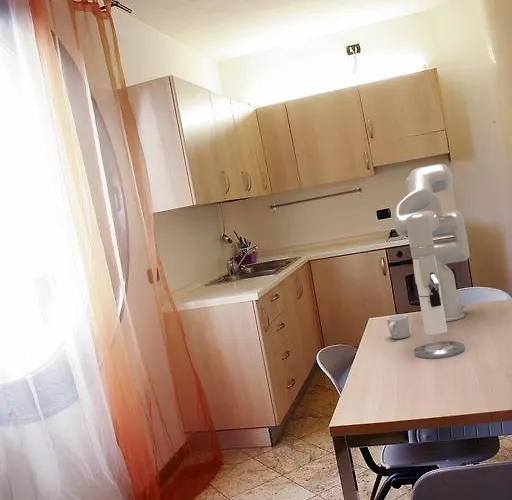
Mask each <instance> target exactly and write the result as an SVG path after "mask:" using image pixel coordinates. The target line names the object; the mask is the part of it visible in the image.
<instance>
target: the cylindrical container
mask: <svg viewBox="0 0 512 500" xmlns="http://www.w3.org/2000/svg"><path fill="white" fill-rule="evenodd" d="M434 259H435V263H436V258H435V255H434ZM412 264H414V267H413V271H414V270H415V276H416V282H417V284H416V286H417V287H416V288H417V293H418V299H419V304H420V310H421V316H422V324H423V329H424V334H426V335H429V336H431V335H432V336H433V335H434V336H435V335H440V334H444V333H446V332H448V325H447V321H446V319H445V313H444V307H443V301H442V295H441V289H440V282H439V295H440V301H441V306H436V307H431V303H430V297H429V295H430V292H429V289H428V286H427V287H426V288H425V287H423V286H422V281H421V275H420V268H419V259H415V258H412ZM436 267H437V264H436ZM437 272H438V270H437ZM415 276H414V277H415ZM438 278H439V276H438ZM429 285H433V282H432V281H431V279H430V284H429ZM432 288H433V287H431V289H432Z"/></svg>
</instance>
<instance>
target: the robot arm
mask: <svg viewBox="0 0 512 500" xmlns="http://www.w3.org/2000/svg"><path fill="white" fill-rule="evenodd" d="M405 186H406V189H407V191H408V193H407V195H406V196H405V197H403V199H401V201H400V202H399V203H398V204H397V205H396V208H395V210H394V211H395V212H394V229H395V232H396V233H397V235H398V236H400V237H408V243H409V248H410V249H409V250H410V254H411V258H412V259H413V258H415V259H419V268H420V275H421V281H422V286H423V287H425V288H426V287H427V286H428V289H429V292H430V295H429V297H430V303H431V307H436V306H441V301H440V295H439V282H440V289H441V295H442V301H443V307H444V313H445V319H446V322H452V321H457V320H461V319H464V317H465V313H464V312H462V310H464V309H465V308H466V307H467V306H466V304H465V303H463V302H462V303H461V304H460V303H459V299H458V298H459V297H458V291H457V287H456V286H457V285H456V279H455V274H454V272H453V270H452V269H451V268H450V267H448V266H447V264H450V263H452V264H453V263H459V262H464V261H467V260H468V259H469V257H470V249H469V248H470V247H469V242H468V235H467V231H466V224H465V220H464V217H463V214H462V213H461V212H460V211H459V210H446V211H443V210H442V205H441V200H440V198H439V197H438V196H437V195H436V194H435V193H442V192H446V191H451V189H452V188H453V187H454V175H453V173H452V171H451V170H450V168H449V167H448V166H447V164H443V163H438V164H433V165H427V166H421V167H417V168H414V169H413V170H412V171H411V172H410V173H409V175H408V176H407V177H406V179H405ZM448 236H453V237H452V238H444V239H438V240H437V239H436V240H434V239H435V238H439V237H440V238H441V237H448ZM433 238H434V239H433ZM434 255H435V258H436V263H435V259H434ZM412 264H413V263H412ZM436 264H437V267H436ZM412 266H413V267H412V268H414V264H413V265H412ZM437 270H438V272H437ZM413 273H414V275H413V276H414V281H415V285H417V282H416V276H415V270H414V269H413ZM438 276H439V278H438ZM430 279H431V281H432V282H433V285H429V284H430ZM431 287H433V288H432V289H431Z"/></svg>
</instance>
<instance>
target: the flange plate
mask: <svg viewBox="0 0 512 500" xmlns="http://www.w3.org/2000/svg"><path fill="white" fill-rule="evenodd" d="M465 349H466V348H465V344H464V343H463V342H459V341H450V340H445V341H444V340H443V341H435V342H429V343H424V344H422V345H419V346H418V347H416V348H415V349H414V351H413V352H414V356H415V357H416V358H419V359H425V360H434V359H435V360H436V359H437V360H439V359H446V358H450V357H455V356H458V355H460V354H462V353H464V352H465V351H466V350H465Z"/></svg>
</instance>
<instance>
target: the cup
mask: <svg viewBox="0 0 512 500" xmlns="http://www.w3.org/2000/svg"><path fill="white" fill-rule="evenodd" d="M386 323H387V326H388V329H389V334H390V336H391V338H392V339H395V340H401V339H406V338H408V337H409V335H410V328H409V326H410V324H409V323H410V322H409V316H408V314H405V313H403V314H402V313H401V314H393V315H392V314H391V315H390V316H387V317H386Z"/></svg>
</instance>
